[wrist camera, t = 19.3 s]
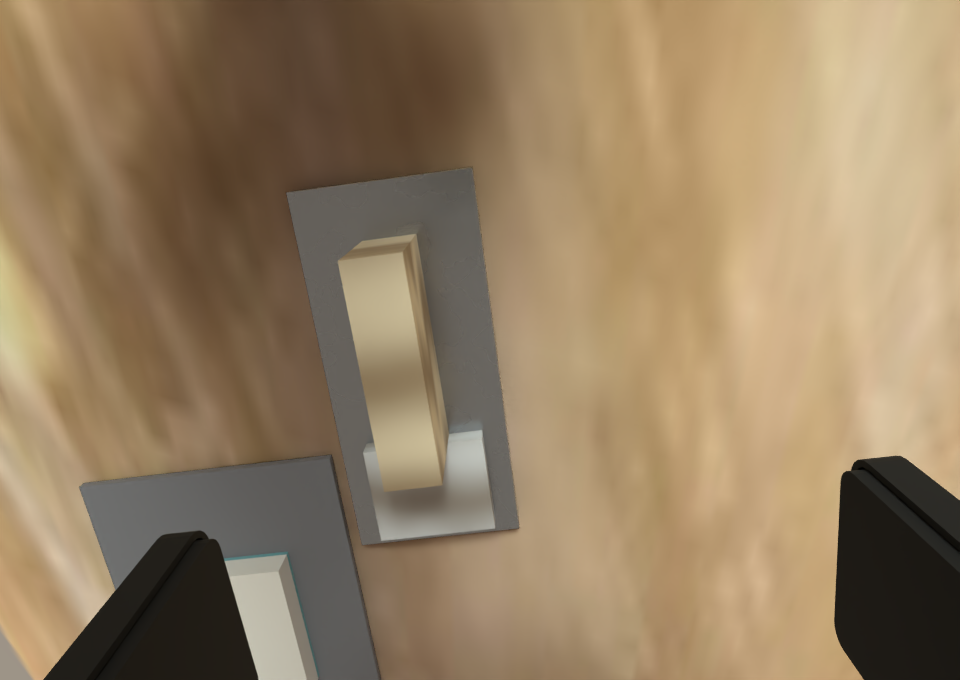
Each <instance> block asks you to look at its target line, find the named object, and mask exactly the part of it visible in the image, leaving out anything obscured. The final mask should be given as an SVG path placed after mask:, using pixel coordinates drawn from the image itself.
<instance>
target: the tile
mask: <svg viewBox="0 0 960 680" xmlns="http://www.w3.org/2000/svg"><path fill="white" fill-rule="evenodd" d="M224 561H225V564H226V568H227V571H228V575H229V578H230V581H231V585H232V588H233V592H234V595H235V599H236V602H237V606H238V609H239V612H240V616H241V619H242V623H243V626H244V630H245V633H246V637H247V640H248V643H249V647H250V650H251V654H252V657H253V661H254V664H255V668H256V671H257V674H258V679H259V680H318V678H319V671H318V667H317V663H316V660H315V656H314V652H313V648H312V644H311V640H310V636H309V632H308V628H307V624H306V620H305V616H304V613H303V609H302V605H301V601H300V597H299V593H298V589H297V585H296V581H295V577H294V573H293V569H292V566H291V562H290V558H289V554H288V552H280V553H270V554H261V555H252V556H242V557H233V558H224Z"/></svg>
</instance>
